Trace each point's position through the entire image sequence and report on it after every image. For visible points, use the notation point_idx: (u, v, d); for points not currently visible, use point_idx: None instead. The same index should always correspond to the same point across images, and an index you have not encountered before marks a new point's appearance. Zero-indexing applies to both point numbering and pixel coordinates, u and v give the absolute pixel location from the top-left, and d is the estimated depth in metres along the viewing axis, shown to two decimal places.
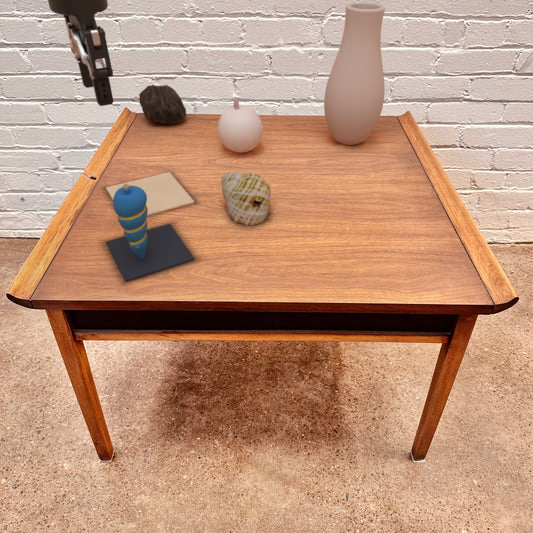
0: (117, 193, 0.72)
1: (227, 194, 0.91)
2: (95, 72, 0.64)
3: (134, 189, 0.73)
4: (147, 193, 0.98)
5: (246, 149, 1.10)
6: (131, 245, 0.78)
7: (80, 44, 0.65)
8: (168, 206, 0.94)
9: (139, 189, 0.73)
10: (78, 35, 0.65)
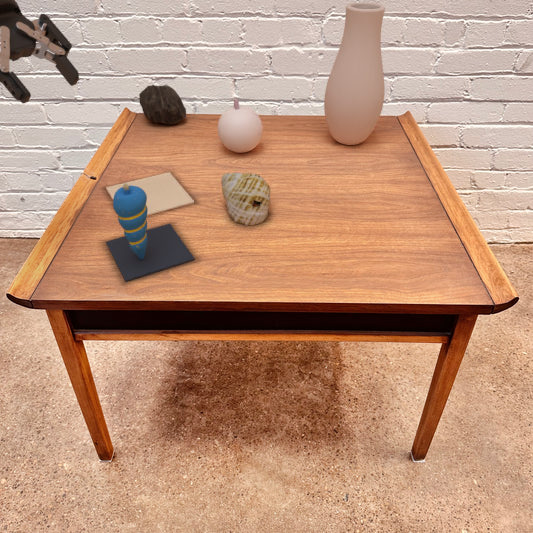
0: (117, 193, 0.72)
1: (227, 194, 0.91)
2: (68, 42, 0.72)
3: (134, 189, 0.73)
4: (147, 193, 0.98)
5: (246, 149, 1.10)
6: (131, 245, 0.78)
7: None
8: (168, 206, 0.94)
9: (139, 189, 0.73)
10: None
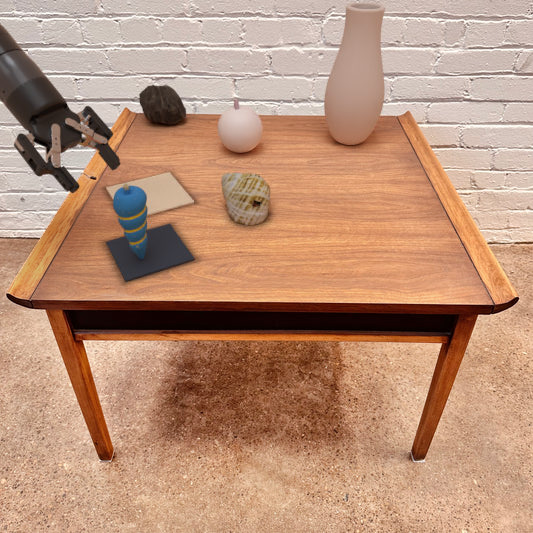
0: (117, 193, 0.72)
1: (227, 194, 0.91)
2: (110, 130, 0.78)
3: (134, 189, 0.73)
4: (147, 193, 0.98)
5: (246, 149, 1.10)
6: (131, 245, 0.78)
7: None
8: (168, 206, 0.94)
9: (139, 189, 0.73)
10: None
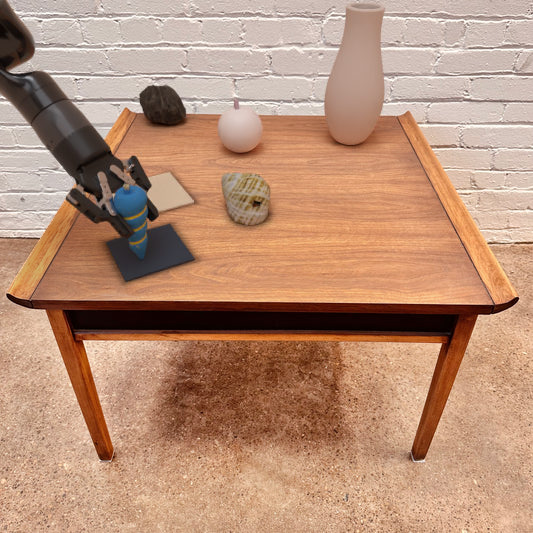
0: (117, 193, 0.72)
1: (227, 194, 0.91)
2: (149, 182, 0.78)
3: (134, 188, 0.73)
4: (147, 193, 0.98)
5: (246, 149, 1.10)
6: (131, 245, 0.78)
7: None
8: (168, 206, 0.94)
9: (139, 189, 0.73)
10: None
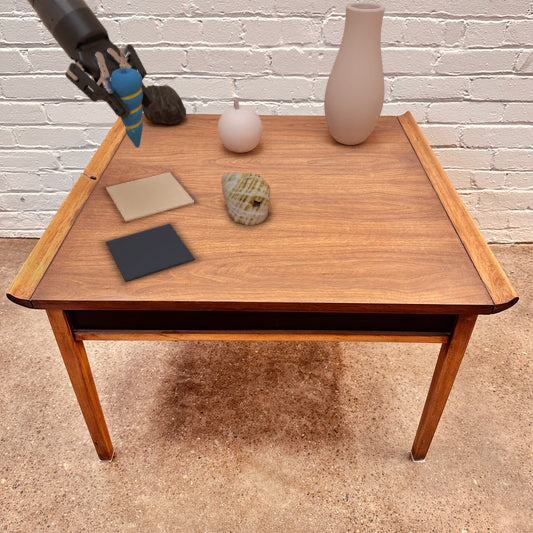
0: (114, 72, 0.77)
1: (227, 194, 0.91)
2: (145, 70, 0.82)
3: (130, 70, 0.78)
4: (147, 193, 0.98)
5: (246, 149, 1.10)
6: (127, 130, 0.82)
7: None
8: (168, 206, 0.94)
9: (135, 70, 0.78)
10: None
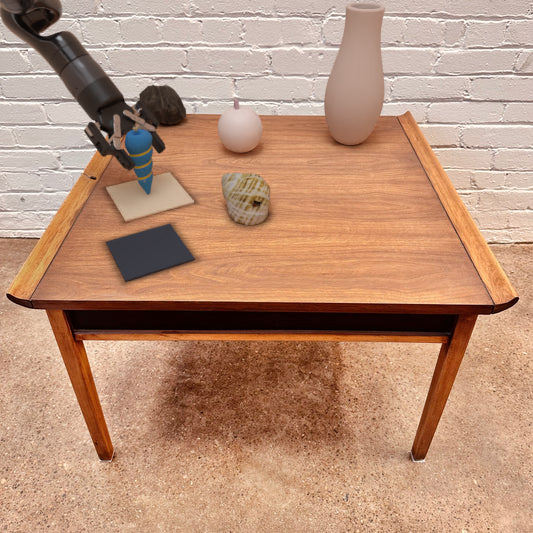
0: (128, 134, 0.89)
1: (227, 194, 0.91)
2: (157, 120, 0.95)
3: (142, 131, 0.90)
4: None
5: (246, 149, 1.10)
6: (139, 180, 0.94)
7: (134, 116, 0.91)
8: (168, 206, 0.94)
9: (146, 131, 0.90)
10: None
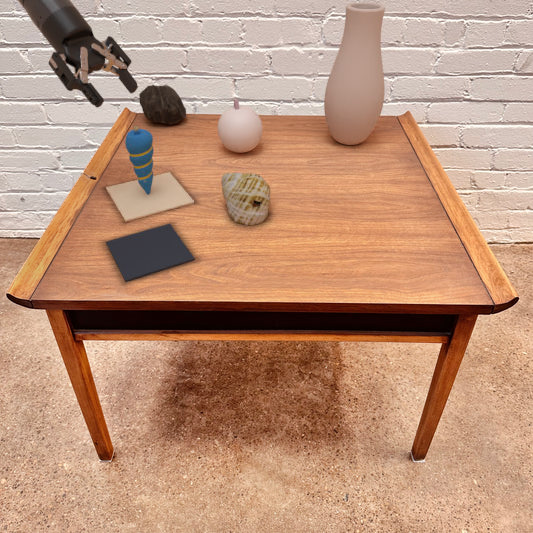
0: (129, 134, 0.89)
1: (227, 194, 0.91)
2: (129, 58, 0.90)
3: (142, 131, 0.90)
4: None
5: (246, 149, 1.10)
6: (139, 180, 0.94)
7: None
8: (168, 206, 0.94)
9: (146, 131, 0.90)
10: None
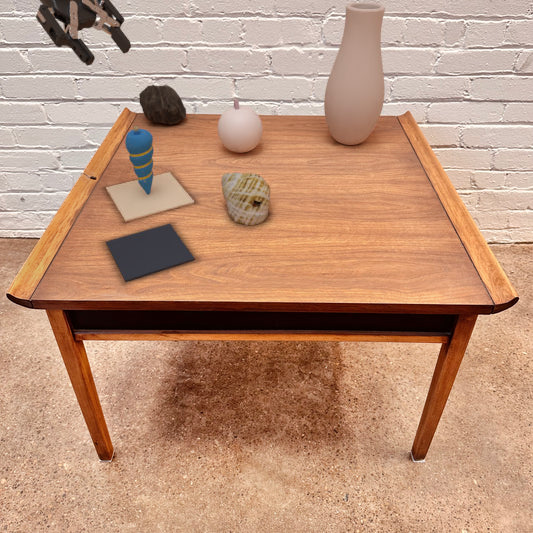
0: (129, 134, 0.89)
1: (227, 194, 0.91)
2: (121, 16, 0.85)
3: (142, 131, 0.90)
4: None
5: (246, 149, 1.10)
6: (139, 180, 0.94)
7: None
8: (168, 206, 0.94)
9: (146, 131, 0.90)
10: None
